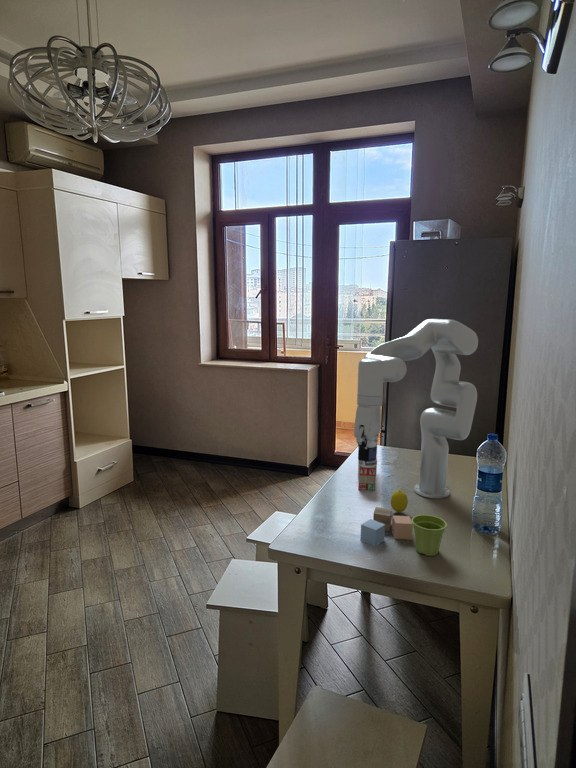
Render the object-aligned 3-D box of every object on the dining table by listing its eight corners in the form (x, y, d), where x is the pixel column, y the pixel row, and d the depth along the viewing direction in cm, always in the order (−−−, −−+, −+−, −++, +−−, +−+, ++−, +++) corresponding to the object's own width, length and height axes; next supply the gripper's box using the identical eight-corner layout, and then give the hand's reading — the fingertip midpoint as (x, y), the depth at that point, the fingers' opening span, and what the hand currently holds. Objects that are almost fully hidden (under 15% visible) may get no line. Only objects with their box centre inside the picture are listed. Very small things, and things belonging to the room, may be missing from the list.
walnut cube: (374, 521, 150) (375, 506, 149) (390, 524, 149) (391, 509, 148) (372, 528, 145) (373, 513, 145) (389, 531, 144) (390, 515, 143)
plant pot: (403, 543, 136) (405, 515, 135) (433, 540, 138) (435, 513, 137) (419, 561, 127) (422, 531, 126) (451, 557, 130) (453, 528, 128)
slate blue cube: (369, 534, 142) (370, 518, 141) (384, 540, 138) (385, 524, 137) (360, 540, 138) (361, 524, 137) (375, 546, 135) (375, 530, 134)
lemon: (394, 517, 153) (396, 494, 152) (387, 510, 158) (388, 487, 157) (410, 515, 155) (411, 492, 153) (401, 508, 160) (403, 486, 158)
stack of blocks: (357, 470, 195) (358, 441, 193) (372, 471, 195) (374, 442, 193) (358, 490, 175) (359, 458, 172) (375, 491, 174) (377, 459, 172)
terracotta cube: (391, 530, 144) (392, 515, 143) (408, 531, 144) (409, 516, 143) (394, 538, 139) (395, 523, 138) (411, 539, 139) (412, 523, 138)
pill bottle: (378, 464, 146) (379, 433, 144) (372, 469, 141) (373, 438, 139) (362, 460, 148) (363, 430, 147) (355, 465, 144) (356, 435, 142)
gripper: (369, 393, 150) (367, 448, 153) (345, 403, 136) (343, 463, 139) (392, 396, 146) (389, 452, 149) (369, 407, 132) (367, 468, 135)
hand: (367, 457), depth 144 cm, fingers closed on pill bottle, 5 cm apart
